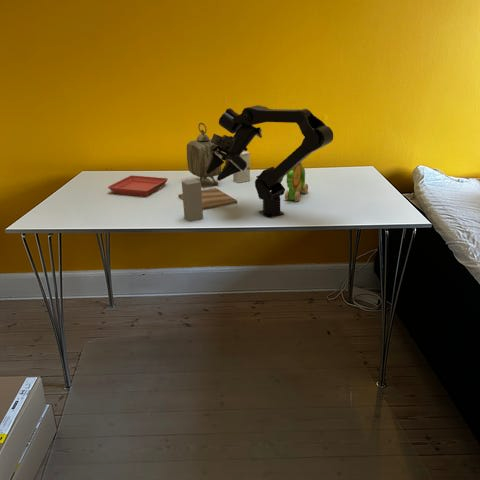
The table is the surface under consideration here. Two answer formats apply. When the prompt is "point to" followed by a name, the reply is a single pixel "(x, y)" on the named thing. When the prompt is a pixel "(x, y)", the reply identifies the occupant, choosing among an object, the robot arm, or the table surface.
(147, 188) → the plant saucer
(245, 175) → the skincare box
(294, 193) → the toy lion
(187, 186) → the tall taupe box
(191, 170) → the tabletop clock
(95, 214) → the table surface
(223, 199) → the walnut board
